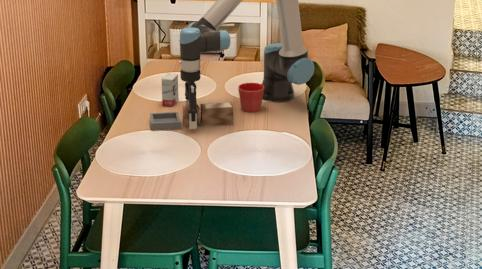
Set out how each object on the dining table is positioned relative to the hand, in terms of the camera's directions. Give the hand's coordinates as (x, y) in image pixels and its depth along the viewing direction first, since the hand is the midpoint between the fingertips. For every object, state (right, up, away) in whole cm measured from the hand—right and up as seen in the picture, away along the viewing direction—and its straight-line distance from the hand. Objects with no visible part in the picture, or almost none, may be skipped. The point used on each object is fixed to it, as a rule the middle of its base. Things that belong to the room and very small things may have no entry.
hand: (191, 122), depth 267 cm
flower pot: (+23, +5, +17) cm, 29 cm away
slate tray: (-10, -1, 0) cm, 10 cm away
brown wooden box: (+10, 0, +2) cm, 10 cm away
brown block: (0, -1, 0) cm, 1 cm away
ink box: (-10, +8, +22) cm, 26 cm away
